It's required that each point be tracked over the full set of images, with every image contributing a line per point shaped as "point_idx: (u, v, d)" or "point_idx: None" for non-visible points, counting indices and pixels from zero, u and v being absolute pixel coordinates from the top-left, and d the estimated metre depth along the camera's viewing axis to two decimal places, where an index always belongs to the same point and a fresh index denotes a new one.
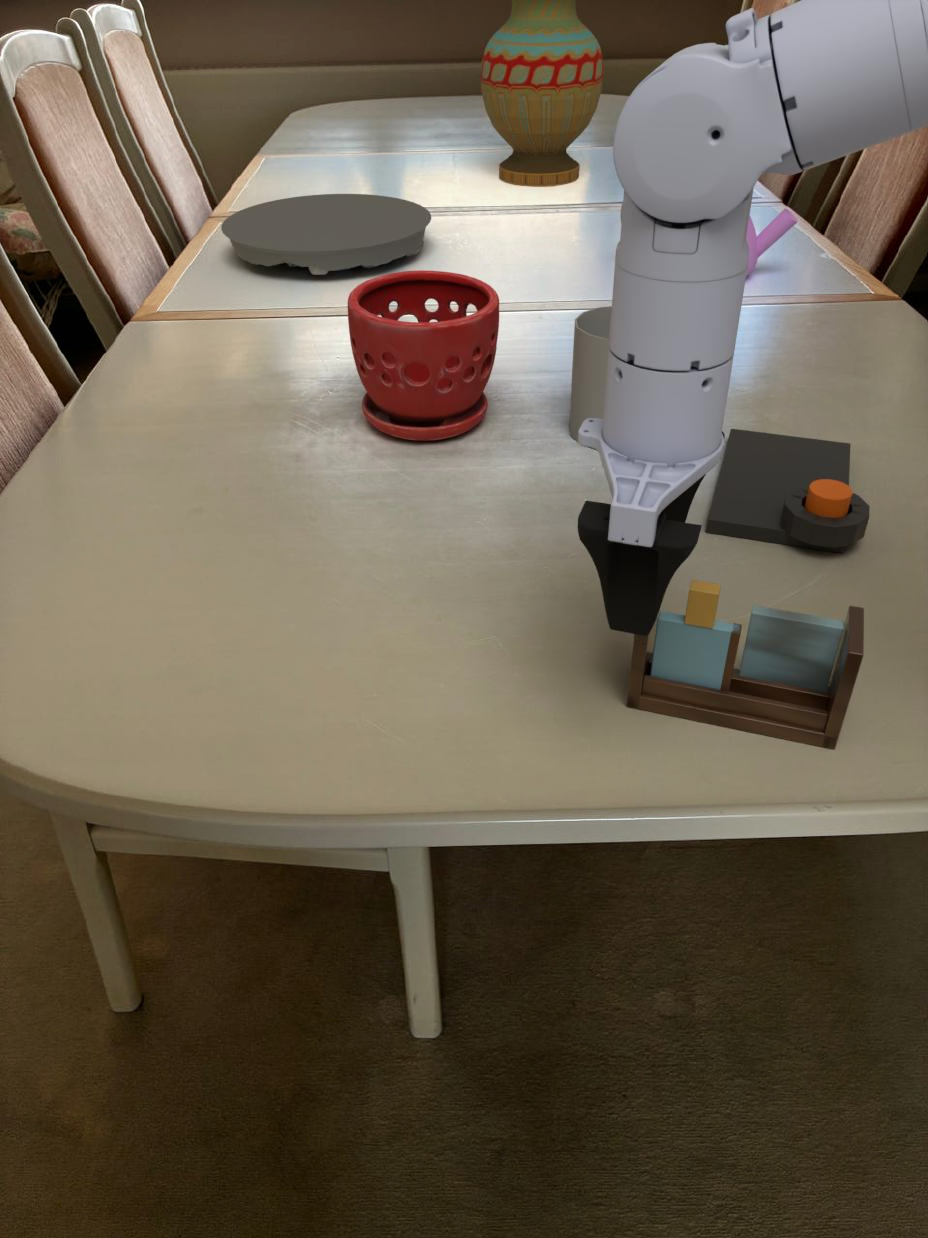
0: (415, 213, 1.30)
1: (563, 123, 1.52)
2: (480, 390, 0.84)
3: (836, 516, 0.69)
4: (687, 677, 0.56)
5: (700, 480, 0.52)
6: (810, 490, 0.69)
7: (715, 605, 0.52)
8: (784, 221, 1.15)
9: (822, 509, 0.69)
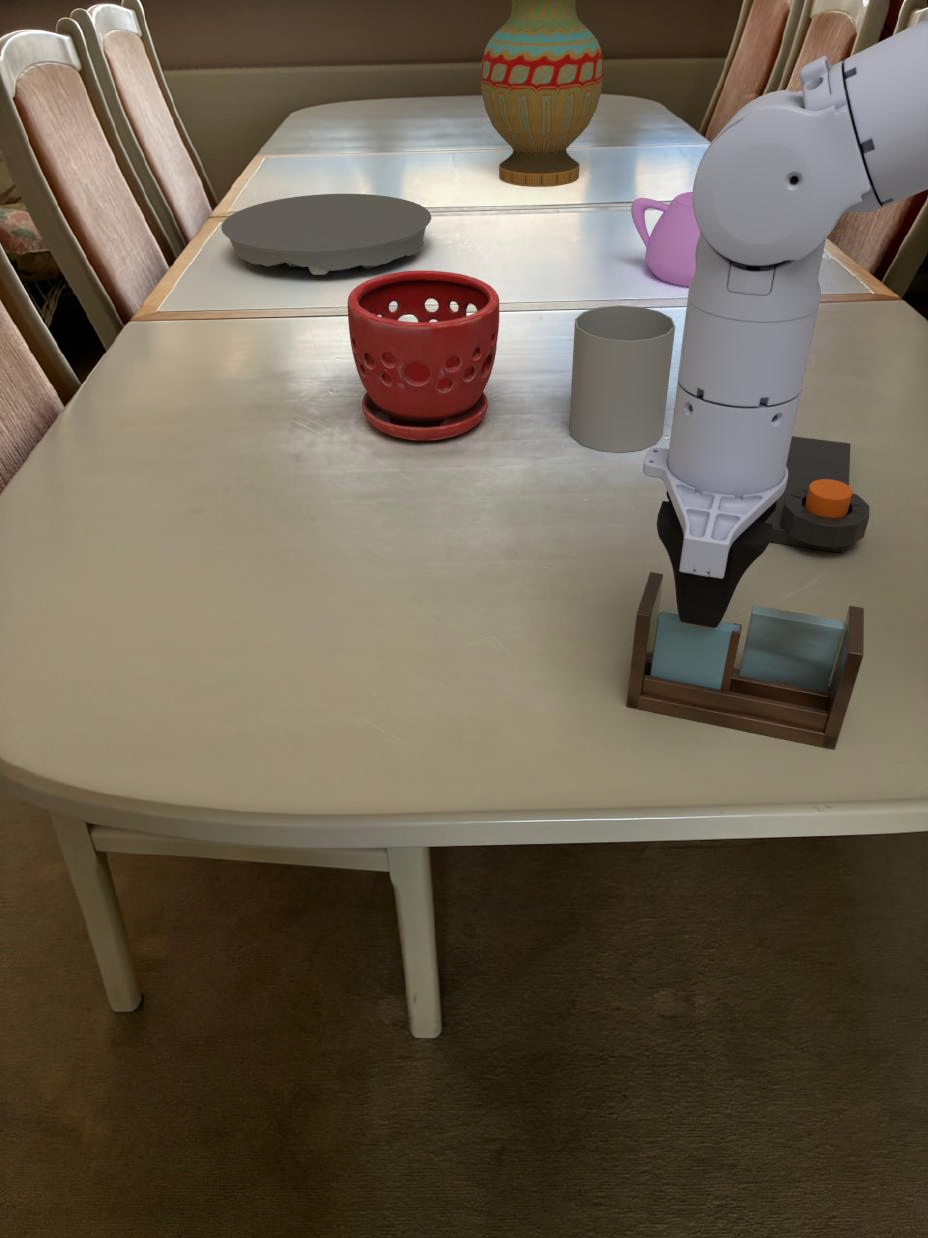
0: (415, 213, 1.30)
1: (563, 123, 1.52)
2: (480, 390, 0.84)
3: (836, 516, 0.69)
4: (687, 677, 0.56)
5: None
6: (810, 490, 0.69)
7: None
8: None
9: (822, 509, 0.69)
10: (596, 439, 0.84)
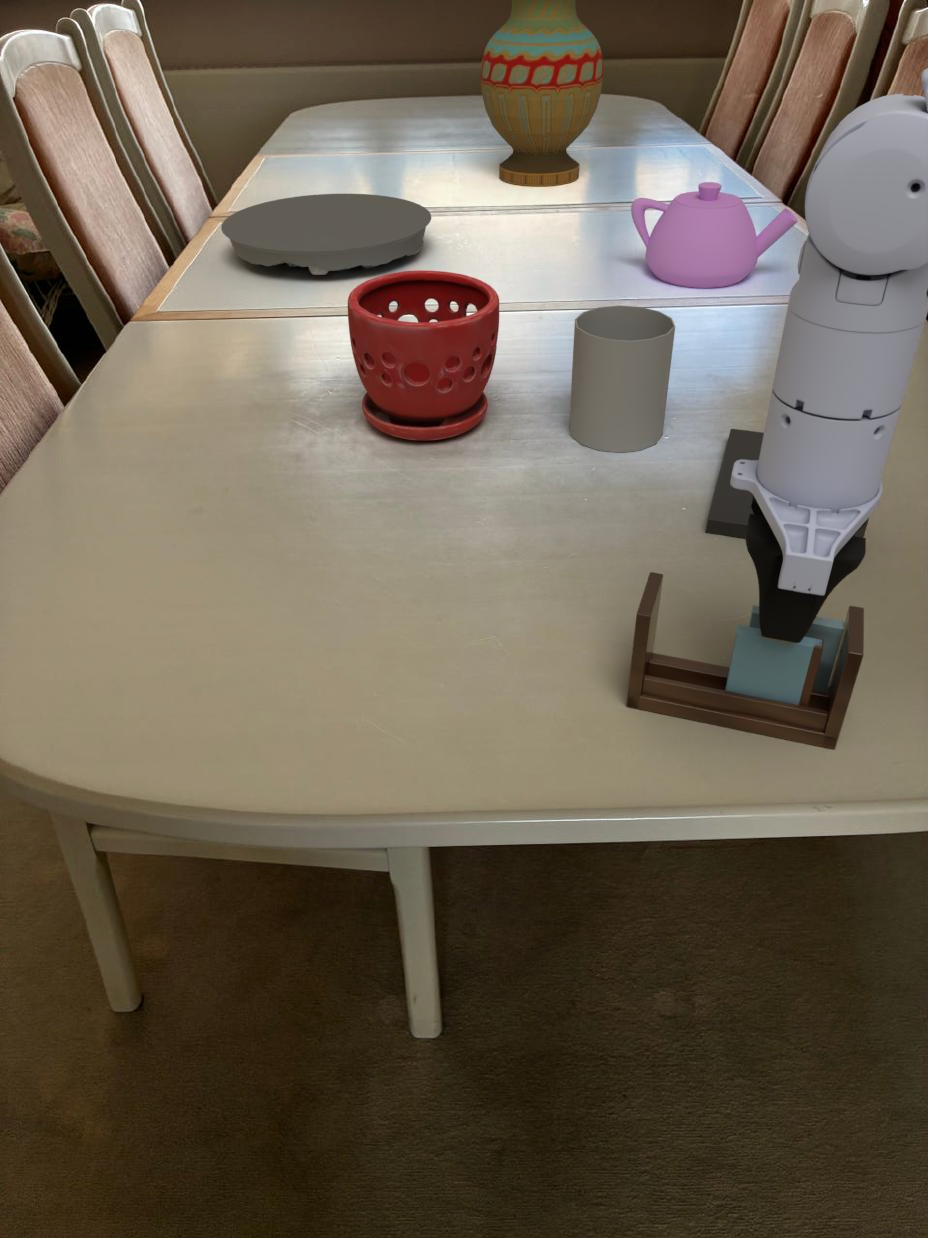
0: (415, 213, 1.30)
1: (563, 123, 1.52)
2: (480, 390, 0.84)
3: None
4: (765, 692, 0.55)
5: None
6: None
7: None
8: (784, 221, 1.15)
9: None
10: (596, 439, 0.84)
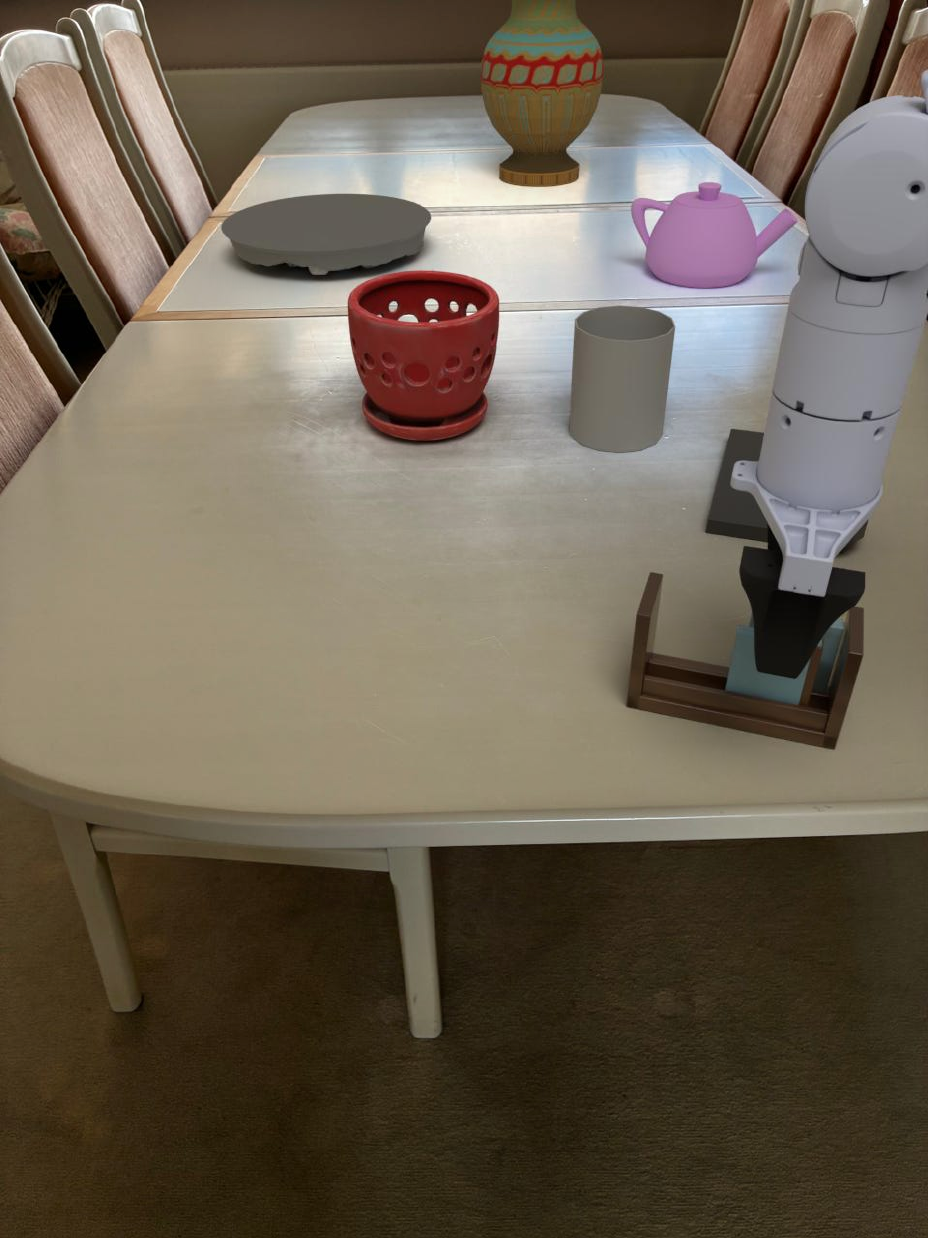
0: (415, 213, 1.30)
1: (563, 123, 1.52)
2: (480, 390, 0.84)
3: None
4: (764, 692, 0.55)
5: None
6: None
7: None
8: (784, 221, 1.15)
9: None
10: (596, 439, 0.84)
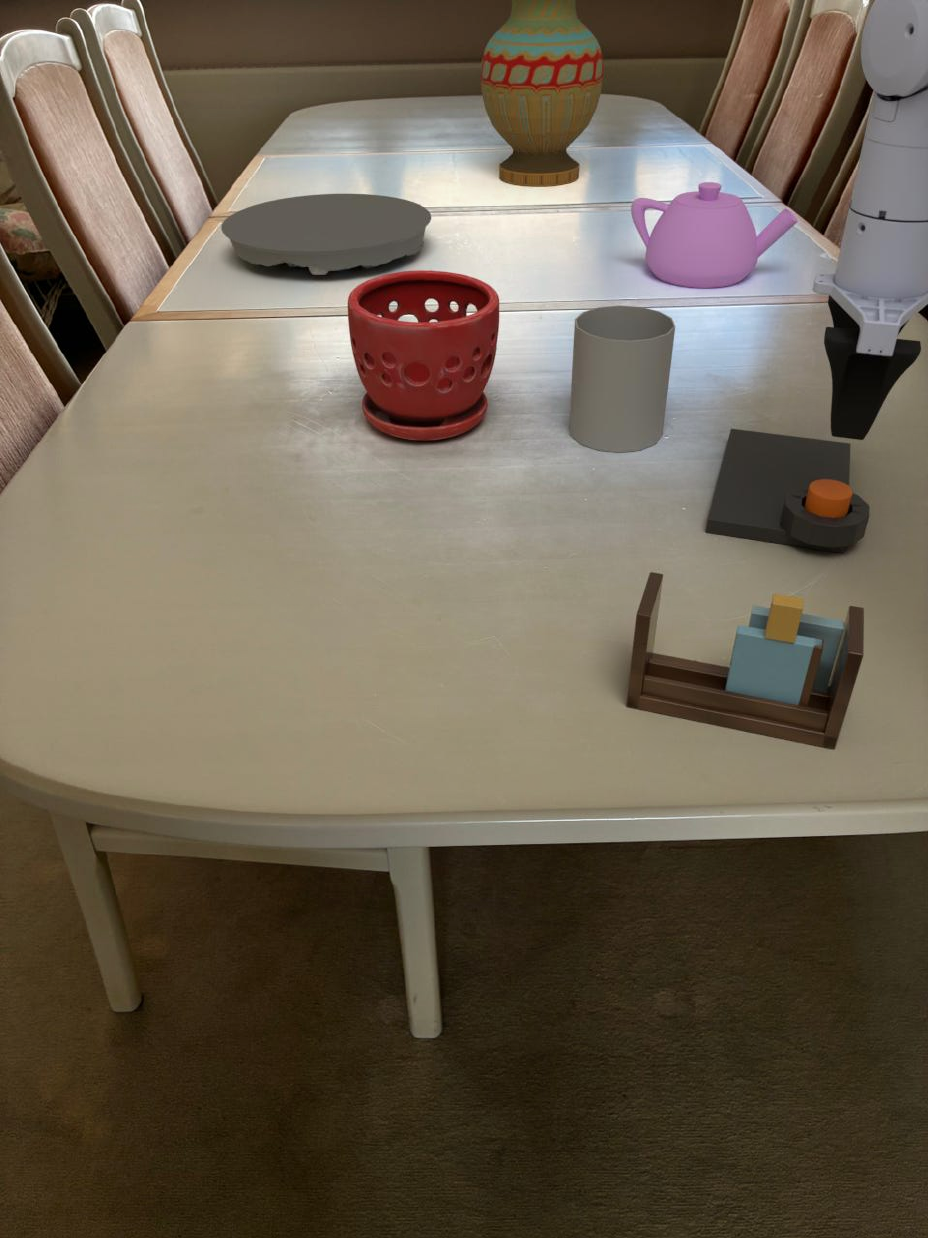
0: (415, 213, 1.30)
1: (563, 123, 1.52)
2: (480, 390, 0.84)
3: (836, 516, 0.69)
4: (764, 692, 0.55)
5: None
6: (810, 490, 0.69)
7: (798, 619, 0.51)
8: (784, 221, 1.15)
9: (822, 509, 0.69)
10: (596, 439, 0.84)
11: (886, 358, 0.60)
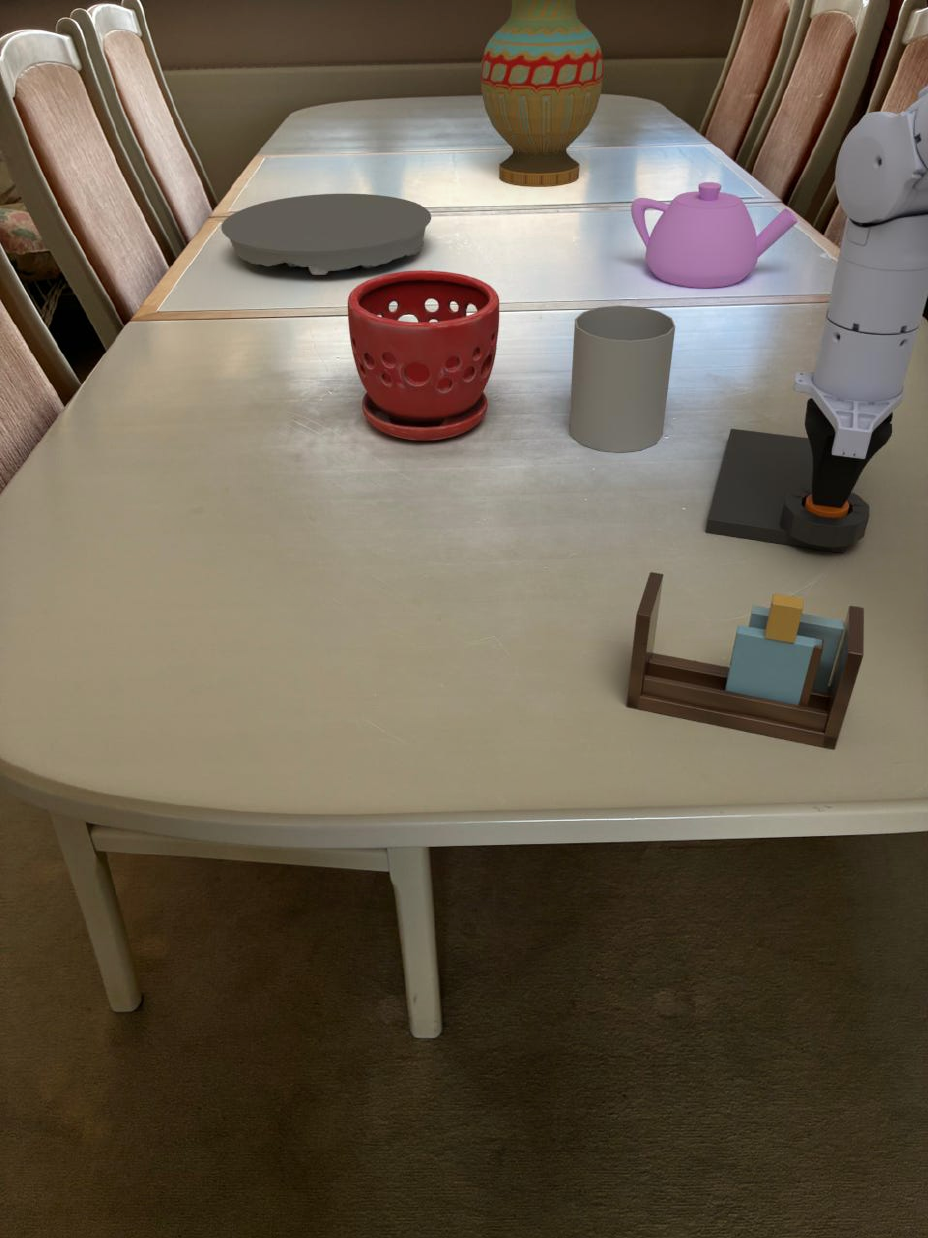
0: (415, 213, 1.30)
1: (563, 123, 1.52)
2: (480, 390, 0.84)
3: None
4: (764, 692, 0.55)
5: None
6: (807, 503, 0.70)
7: (798, 619, 0.51)
8: (784, 221, 1.15)
9: None
10: (596, 439, 0.84)
11: None
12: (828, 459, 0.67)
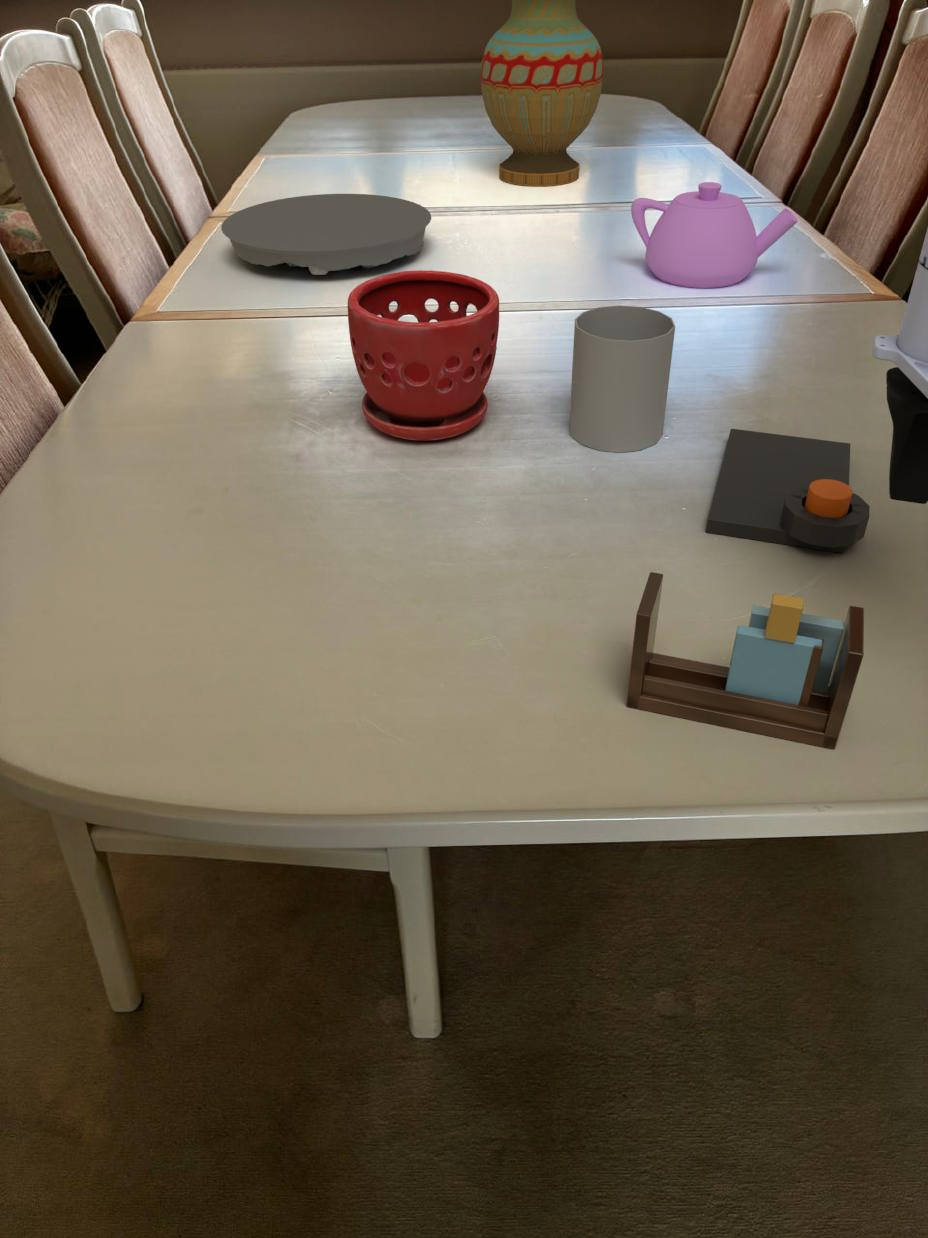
0: (415, 213, 1.30)
1: (563, 123, 1.52)
2: (480, 390, 0.84)
3: (836, 516, 0.69)
4: (764, 692, 0.55)
5: None
6: (810, 490, 0.69)
7: (798, 619, 0.51)
8: (784, 221, 1.15)
9: (822, 509, 0.69)
10: (596, 439, 0.84)
11: None
12: (913, 443, 0.55)
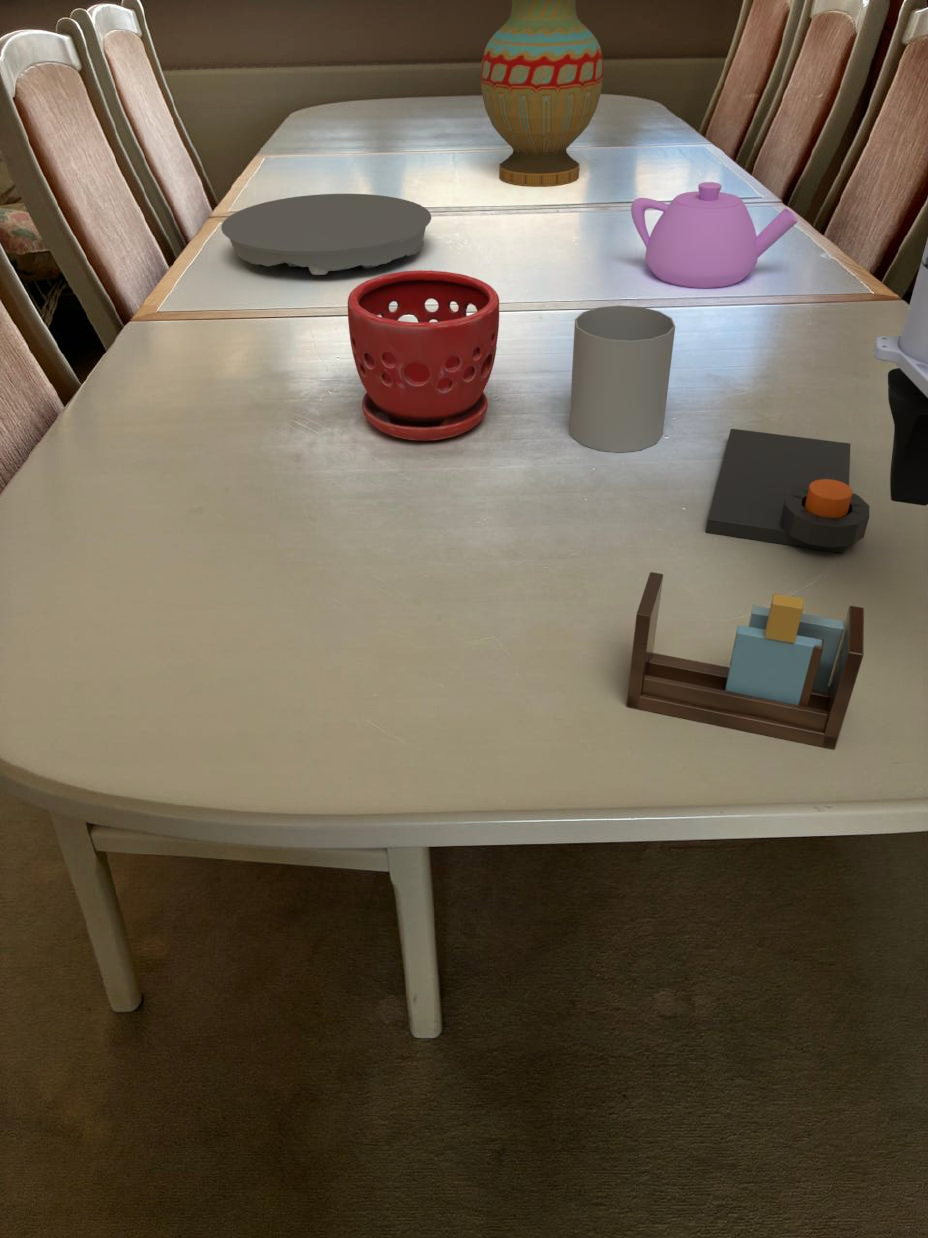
0: (415, 213, 1.30)
1: (563, 123, 1.52)
2: (480, 390, 0.84)
3: (836, 516, 0.69)
4: (764, 692, 0.55)
5: None
6: (810, 490, 0.69)
7: (798, 619, 0.51)
8: (784, 221, 1.15)
9: (822, 509, 0.69)
10: (596, 439, 0.84)
11: None
12: (914, 445, 0.54)
